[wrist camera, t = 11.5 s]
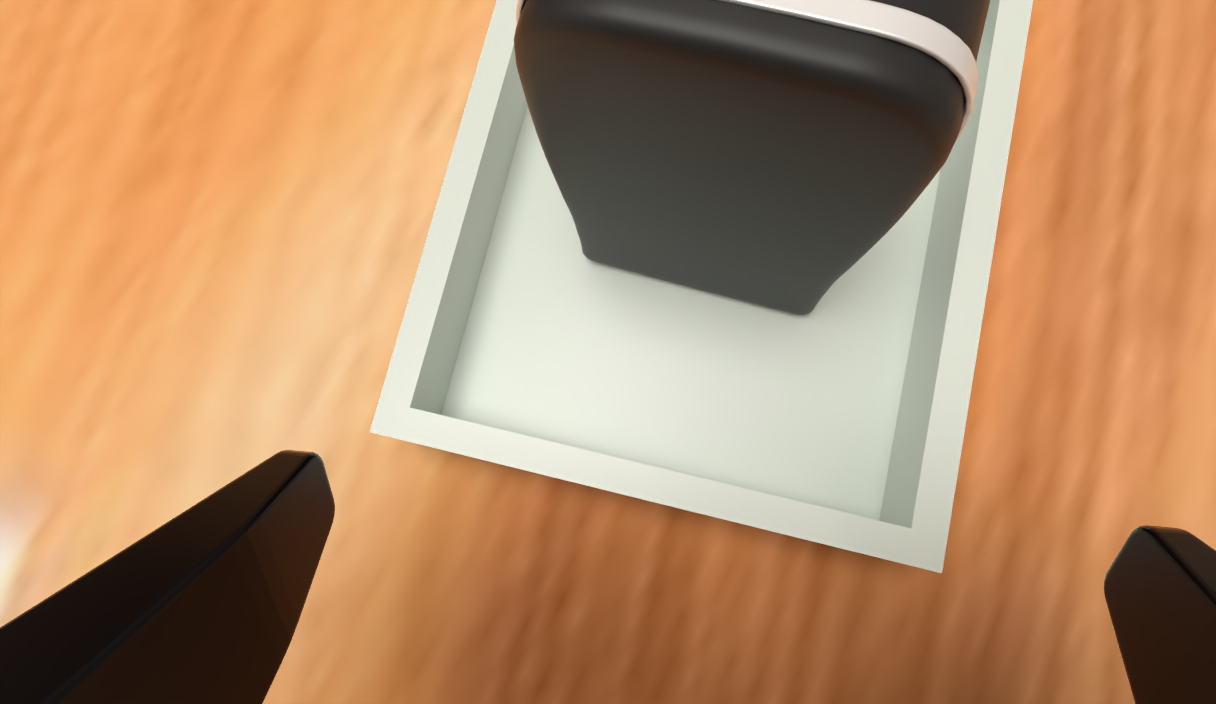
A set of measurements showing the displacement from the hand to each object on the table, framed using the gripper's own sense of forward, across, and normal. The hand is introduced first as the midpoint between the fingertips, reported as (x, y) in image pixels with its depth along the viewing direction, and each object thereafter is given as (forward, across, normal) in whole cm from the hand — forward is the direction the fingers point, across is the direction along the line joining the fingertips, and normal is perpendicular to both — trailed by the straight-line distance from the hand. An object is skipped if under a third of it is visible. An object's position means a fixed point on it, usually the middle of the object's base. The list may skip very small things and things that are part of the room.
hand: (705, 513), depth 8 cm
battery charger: (+14, 0, +3) cm, 14 cm away
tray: (+14, 0, +3) cm, 14 cm away
